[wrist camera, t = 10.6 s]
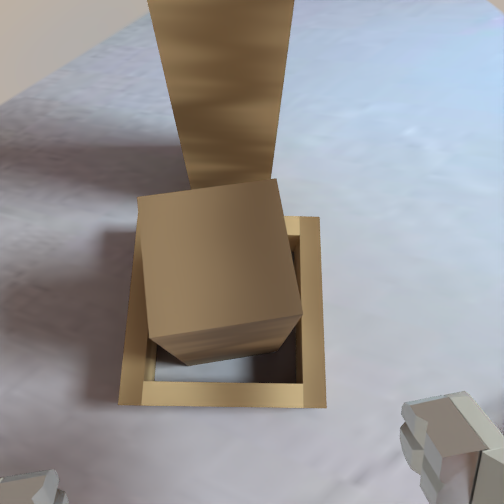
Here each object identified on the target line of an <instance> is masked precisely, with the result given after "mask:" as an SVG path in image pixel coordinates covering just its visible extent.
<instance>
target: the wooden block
mask: <svg viewBox="0 0 504 504" xmlns="http://www.w3.org/2000/svg"><path fill="white" fill-rule="evenodd" d="M137 203H138V214H139V226H140V237H141V249H142V260H143V272H144V283H145V295H146V306H147V318H148V329H149V338H150V339H151V340H152V341H154V342H155V343H157V344H158V345H159V346H161V347H162V348H164V349H165V350H166V351H168V352H169V353H171V354H172V355H173V356H175V357H176V358H178V359H179V360H180V361H182V362H183V363H185V364H186V365H187V366H192V365H198V364H204V363H210V362H216V361H223V360H229V359H235V358H241V357H247V356H253V355H259V354H266V353H272V352H277V351H278V350H279V348H280V347H281V345H282V344H283V342H284V341H285V340H286V338H287V337H288V335H289V334H290V332H291V331H292V330H293V328H294V327H295V325H296V324H297V322H298V321H299V320H300V318H301V317H302V315H303V310H302V305H301V300H300V295H299V290H298V285H297V280H296V275H295V270H294V265H293V260H292V255H291V250H290V245H289V240H288V235H287V230H286V224H285V219H284V214H283V209H282V204H281V199H280V194H279V189H278V184H277V179H268V180H261V181H253V182H246V183H238V184H230V185H223V186H215V187H208V188H200V189H193V190H185V191H178V192H170V193H163V194H155V195H148V196H140V197H137Z"/></svg>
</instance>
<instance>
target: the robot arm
mask: <svg viewBox="0 0 504 504" xmlns="http://www.w3.org/2000/svg"><path fill="white" fill-rule="evenodd" d="M401 415H402V417H403V418H404V420H405V423H404V424H403V425H402V426H401V427H400V442H401V447H402V451H403V453H404V456H405V459H406V461H407V463H408V465H409V467H410V468H411V469H412V470H413V471H415V472H416V473H418V474H419V475H421V479H420V487H421V489H422V491H423V493H424V495H425V496H426V498H427V500H428V502H429V504H504V436H503V435H502V433H501V432H500V431H499V430H498V429H497V427H496V426H495V425H494V424H493V422H492V421H491V420H490V419H489V418H488V416H487V415H486V414H485V413H484V411H483V410H482V409H481V408H480V407H479V405H478V404H477V403H476V402H475V400H474V399H473V398H472V397H471V396H470V394H468V393H467V392H465V391H462V392H457V393H452V394H447V395H440V396H435V397H430V398H425V399H420V400H415V401H410V402H405V403H404V404H403V406H402V411H401ZM58 483H59V477H58V475H57V473H56V471H55V469H54V470H45V471H39V472H32V473H26V474H20V475H14V476H7V477H3V478H0V504H69V501H68V498H67V495H66V493H65V492H64V491H62V490H60V489H58V488H57V487H58Z"/></svg>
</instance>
